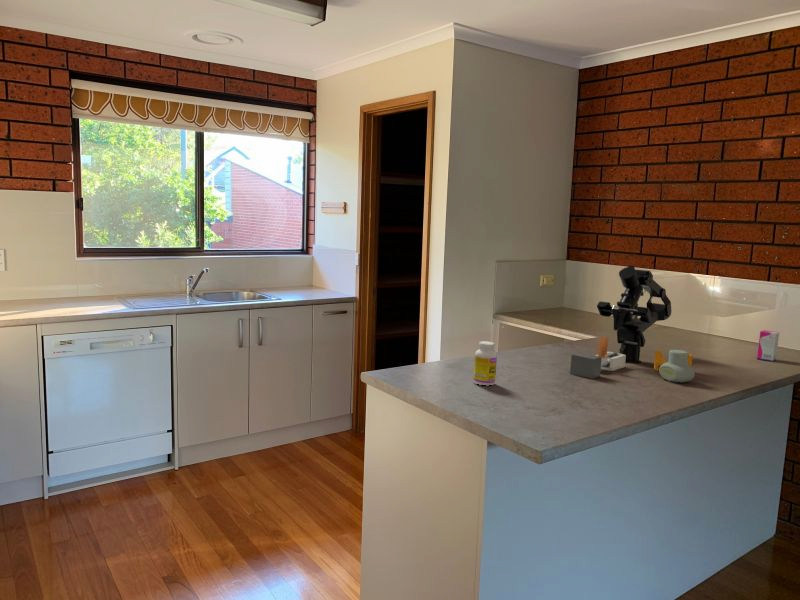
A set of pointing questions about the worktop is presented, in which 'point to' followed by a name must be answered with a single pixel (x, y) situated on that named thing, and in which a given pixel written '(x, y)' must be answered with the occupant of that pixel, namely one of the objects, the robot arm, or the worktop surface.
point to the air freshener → (677, 367)
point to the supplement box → (768, 345)
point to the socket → (585, 365)
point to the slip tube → (605, 352)
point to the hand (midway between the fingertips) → (615, 329)
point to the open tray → (615, 362)
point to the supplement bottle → (485, 364)
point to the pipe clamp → (660, 361)
